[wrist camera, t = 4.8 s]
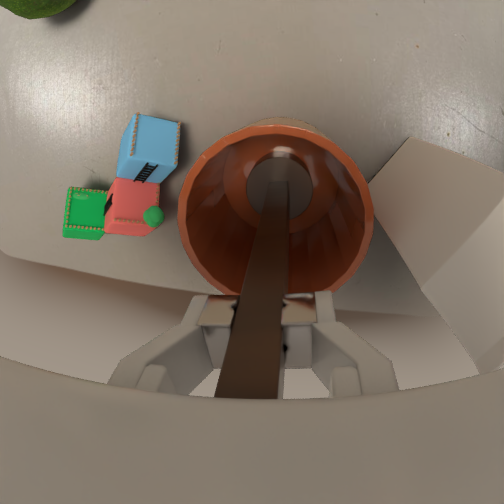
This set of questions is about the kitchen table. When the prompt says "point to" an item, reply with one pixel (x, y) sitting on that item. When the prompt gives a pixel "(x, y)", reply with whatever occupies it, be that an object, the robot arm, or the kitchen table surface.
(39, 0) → the avocado
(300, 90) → the kitchen table surface
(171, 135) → the building blocks
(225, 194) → the crock
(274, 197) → the ladle
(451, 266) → the milk carton
